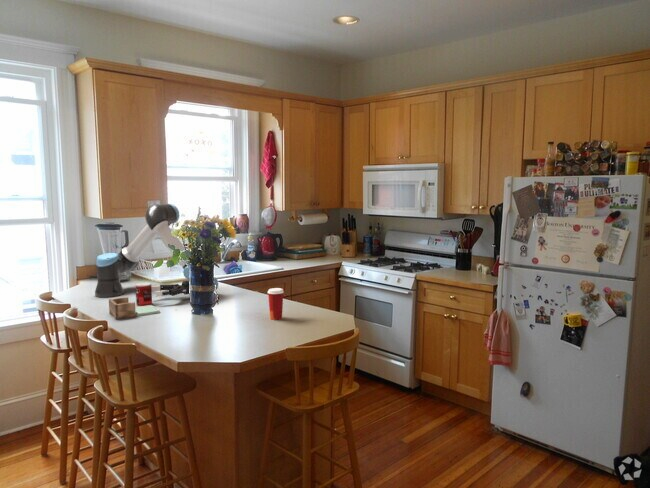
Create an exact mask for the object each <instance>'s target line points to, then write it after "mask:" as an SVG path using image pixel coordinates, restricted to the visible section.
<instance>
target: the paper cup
mask: <svg viewBox="0 0 650 488" xmlns="http://www.w3.org/2000/svg"><path fill="white" fill-rule="evenodd" d="M284 292H285V291H284V289H283V288H280V287H274V288H273V287H272V288H269V289H268V290H267V296H268V297H267V298H268V307H269V310H268V311H269V318H270V320H273V321H279V320H282V319H283V305H284Z"/></svg>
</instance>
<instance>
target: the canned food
mask: <svg viewBox="0 0 650 488" xmlns="http://www.w3.org/2000/svg"><path fill="white" fill-rule="evenodd" d="M152 287H153V286H152V283H151V282H140V283H139V282H137V283H136V284H135V299H136V300H135V301H136V302H135V305H137V307H140V306H147V305H152V304H153V292H152Z"/></svg>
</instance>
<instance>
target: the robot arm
mask: <svg viewBox="0 0 650 488" xmlns="http://www.w3.org/2000/svg"><path fill="white" fill-rule="evenodd" d="M144 215H145V217H144V218H145V222H146V225H145V226H144V227H143V229H141V231H140V232H139V233H138V234H137V235H136V237H134V239H133V240H132V241H131V243H130V244H129V245H128V246H126V247H125V246H124V247H123V248H122V249H121V250H120V252H119V253H117V252H107V253H103V254H100V255H97V257H96V261H95V262H96V263H95V264H96V277H97V284H96V287H95V290H94V295H95V296H94V297H96V298H112V297H118V296H122V295H124V293H125V292H124V288H123V286H122V283H121V280H120V275H121V274H125V273H130V272H132V271H134V270H136V269H137V268H139V267H138V266H139V264H140V262H139V261H140V260H141V255H142V254H143V253H144V252H145V251H146V249H147V248H148V247H149V246H150V245H151V244H152V242H154V240H155V239H156V238H157V237H159V239H160V241H162V243H163V244H164V245H165V247H166V248H167V249H168V251H170V253H171V255H173V251H172V250H171V249H170V248H169V247H168V244H170V245H174V246H175V248H176V249H180V250H181V251H183V250H185V248H186V247H185V246H184V244H183V243H182V242H181V240H180V239H179V238H178V237H174V236H172V235H171V231H173V230H172V228H171V227H170V226H171V225H172V224H173V225H174V224H176V223H177V222H178V221H179V219H180V211H179V209H178V207H177V206H176V205H175V204H172V203H161V204H160V203H159V204H152V205H150V206H149V207H148V208H147V209H146V210H145V214H144ZM184 247H185V248H184ZM178 264H179V265H180V267H181V268H182V269H183V271H182V273H183V276H184V278H185V279H187V280H183V281H182V282H181V284H179V283H173V284H172V283H171V284H159V285H156V286H155V285H153V286H151V287H152V293H153V292H154V293H155V297H156V298H160V297H166V296H171V297H174V296H177V295H181V294H183V295H190V294H189V281H190V280H189V267H188V266H187V265H186V262H185V261H183V260H181V261H180V262H178ZM214 278H215V285H216V290H217V289H218V288H219V280H218V279H217V277H215V276H214ZM216 290H215V291H216Z"/></svg>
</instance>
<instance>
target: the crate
mask: <svg viewBox="0 0 650 488" xmlns="http://www.w3.org/2000/svg"><path fill="white" fill-rule="evenodd" d="M108 308H109V309H108V311H109V312H108V313H109V315H110V316H112V317H113V318H114V319H115V320H121V319H130V318H136V317H142V316H149V315H154V314H161V311H160V309H158V307H155V306H154V305H152V304H151V305H147V306H136V302H135V301H132V302H129V297H128V296H124V297H117V298H116V297H115V298H111V299H109V298H108Z"/></svg>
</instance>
